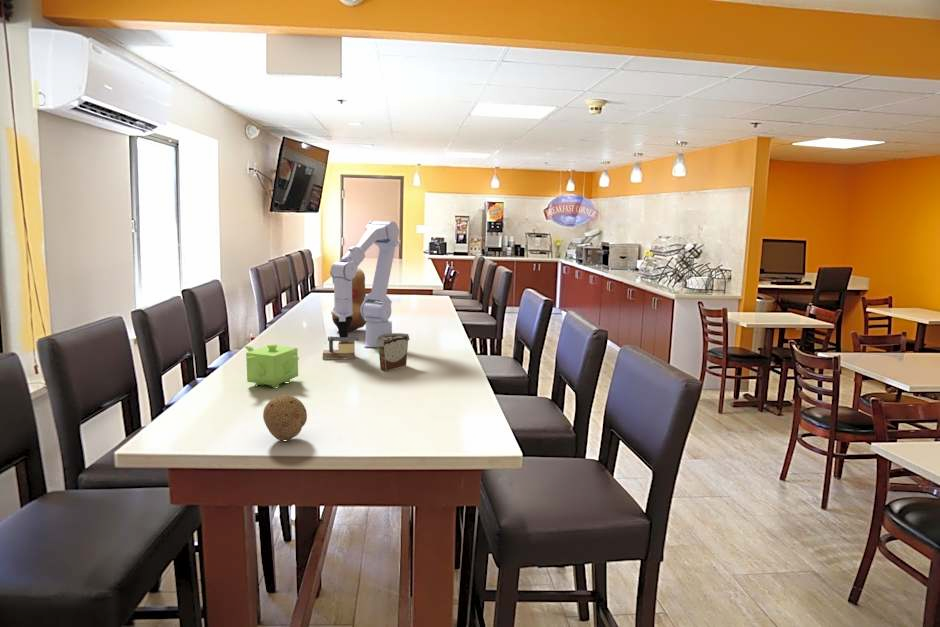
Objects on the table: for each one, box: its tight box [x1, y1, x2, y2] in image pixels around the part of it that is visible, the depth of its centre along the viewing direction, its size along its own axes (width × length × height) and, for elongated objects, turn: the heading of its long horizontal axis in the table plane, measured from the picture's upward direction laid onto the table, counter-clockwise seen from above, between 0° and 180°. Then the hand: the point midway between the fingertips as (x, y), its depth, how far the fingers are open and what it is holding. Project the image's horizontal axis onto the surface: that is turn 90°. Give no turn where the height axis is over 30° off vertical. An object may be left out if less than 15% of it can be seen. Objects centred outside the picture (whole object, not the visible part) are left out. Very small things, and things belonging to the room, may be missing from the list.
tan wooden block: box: [337, 341, 356, 353], centre depth 208 cm, size 5×5×3 cm
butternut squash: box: [331, 267, 367, 332], centre depth 247 cm, size 14×13×25 cm
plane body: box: [321, 341, 356, 360], centre depth 208 cm, size 10×5×5 cm, turn 98°
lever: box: [327, 335, 361, 342], centre depth 208 cm, size 10×2×2 cm, turn 98°
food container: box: [376, 332, 410, 373], centre depth 197 cm, size 12×6×10 cm, turn 145°
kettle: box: [243, 343, 300, 389], centre depth 177 cm, size 15×14×11 cm
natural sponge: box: [262, 394, 308, 441], centre depth 136 cm, size 9×9×10 cm
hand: (343, 339), depth 210 cm, fingers closed
